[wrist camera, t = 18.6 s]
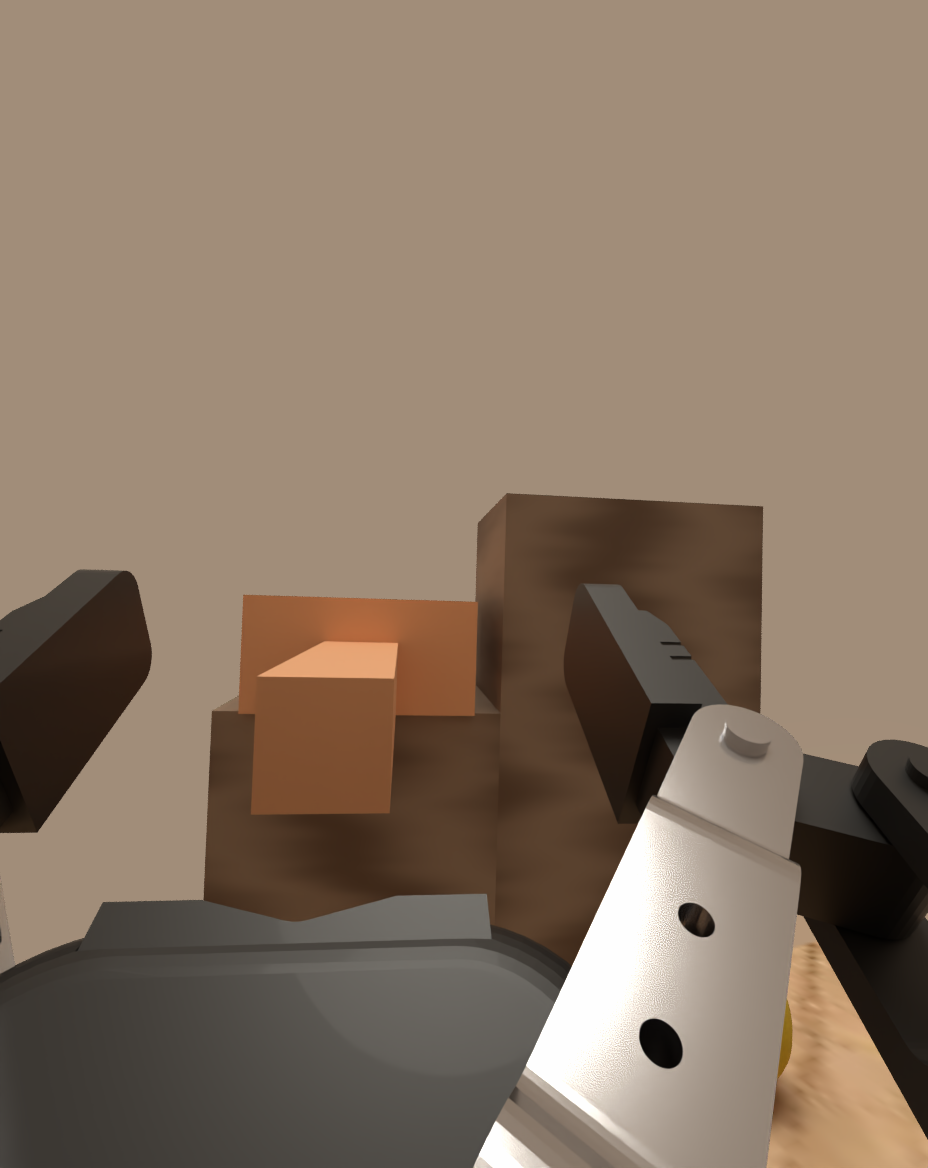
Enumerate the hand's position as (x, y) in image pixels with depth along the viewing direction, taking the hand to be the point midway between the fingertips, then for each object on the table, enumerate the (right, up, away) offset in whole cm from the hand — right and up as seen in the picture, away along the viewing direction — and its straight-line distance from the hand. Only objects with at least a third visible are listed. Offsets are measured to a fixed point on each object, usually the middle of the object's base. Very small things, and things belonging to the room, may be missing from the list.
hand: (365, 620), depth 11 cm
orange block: (-2, -4, +8) cm, 9 cm away
